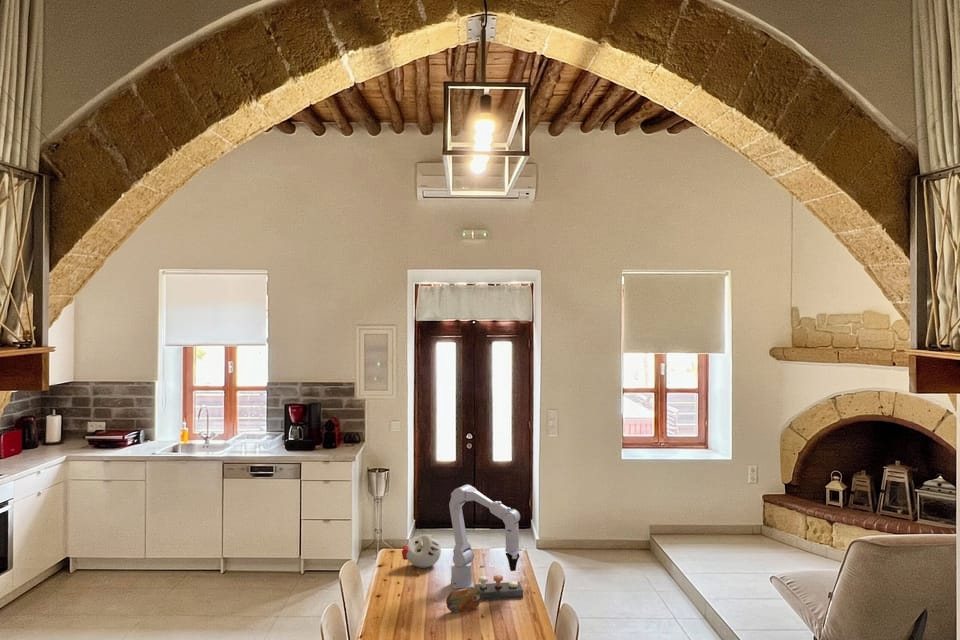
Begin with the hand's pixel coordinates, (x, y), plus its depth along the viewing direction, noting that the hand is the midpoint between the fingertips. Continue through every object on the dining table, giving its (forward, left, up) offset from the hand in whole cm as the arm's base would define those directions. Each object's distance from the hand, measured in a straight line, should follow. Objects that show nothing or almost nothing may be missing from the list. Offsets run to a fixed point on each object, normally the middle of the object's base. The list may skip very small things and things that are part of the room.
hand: (512, 570), depth 283 cm
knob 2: (0, 0, -10) cm, 10 cm away
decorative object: (-39, +40, -10) cm, 57 cm away
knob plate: (-6, 0, -10) cm, 12 cm away
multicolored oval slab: (-22, -14, -10) cm, 28 cm away
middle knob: (-6, 0, -7) cm, 9 cm away
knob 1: (-13, 0, -7) cm, 15 cm away
